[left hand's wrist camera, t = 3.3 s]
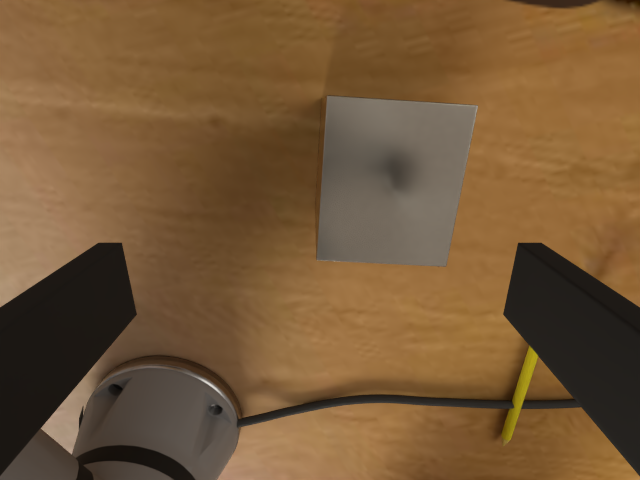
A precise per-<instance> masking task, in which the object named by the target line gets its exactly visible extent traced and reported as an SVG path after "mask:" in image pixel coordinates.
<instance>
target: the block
mask: <svg viewBox="0 0 640 480" xmlns="http://www.w3.org/2000/svg"><path fill="white" fill-rule="evenodd" d="M477 108H478V106H477V105H467V104H452V103H437V102H422V101H407V100H392V99H377V98H362V97H347V96H331V95H328V96H325V97H323V98H322V99H321V116H320V133H319V150H318V167H317V184H316V201H315V225H316V259H317V260H319V261H340V262H361V263H381V264H402V265H423V266H443V267H446V265H447V260H448V255H449V250H450V245H451V239H452V234H453V229H454V224H455V219H456V214H457V209H458V204H459V199H460V194H461V189H462V184H463V179H464V174H465V169H466V164H467V159H468V154H469V149H470V143H471V138H472V133H473V128H474V123H475V118H476V113H477Z"/></svg>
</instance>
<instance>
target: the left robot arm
mask: <svg viewBox="0 0 640 480" xmlns="http://www.w3.org/2000/svg"><path fill="white" fill-rule="evenodd" d="M136 315H137V313H136V309H135V304H134V299H133V294H132V290H131V285H130V280H129V275H128V270H127V266H126V261H125V256H124V251H123V246H122V243H98V244H96V245H95V246H93V247H92V248H90V249H88V250H87V251H85V252H84V253H82V254H81V255H79V256H78V257H76V258H75V259H73V260H72V261H70V262H69V263H67V264H66V265H64V266H63V267H61V268H60V269H58V270H57V271H55V272H54V273H52V274H50V275H49V276H47V277H46V278H44V279H43V280H41V281H40V282H38V283H37V284H35V285H34V286H32V287H31V288H29V289H28V290H26V291H25V292H23V293H22V294H20V295H19V296H17V297H15V298H14V299H12V300H11V301H9V302H8V303H6V304H5V305H3V306H2V307H0V480H217V479H218V477H219V476H220V474H221V472H222V471H223V469H224V468H225V466H226V464H227V463H228V461H229V460H230V458H231V456H232V454H233V453H234V451H235V449H236V446H237V443H238V438H239V434H240V429H241V427H243V426H248V425H252V424H257V423H261V422H265V421H269V420H273V419H277V418H281V417H285V416H289V415H294V414H299V413H304V412H308V411H313V410H318V409H323V408H329V407H335V406H342V405H351V404H363V403H399V404H413V405H428V406H451V407H471V408H497V409H513V408H514V404H513V402H512V401H508V400H474V399H454V398H431V397H416V396H402V395H358V396H347V397H339V398H333V399H327V400H321V401H316V402H311V403H307V404H302V405H297V406H292V407H287V408H283V409H279V410H275V411H271V412H267V413H263V414H258V415H254V416H249V417H245V418H242V414H241V408H240V405H239V402H238V400H237V398H236V396H235V394H234V393H233V391H232V390H231V388H230V387H229V386H228V385H227V384H226V383H225V382H224V381H223V380H222V379H221V378H220V377H219V376H217V375H216V374H215V373H213V372H212V371H210V370H209V369H207V368H205V367H203V366H201V365H199V364H196V363H194V362H191V361H188V360H184V359H180V358H175V357H167V356H151V357H143V358H139V359H134V360H131V361H129V362H126V363H124V364H122V365H120V366H118V367H117V368H115V369H114V370H112V371H111V372H110V373H109V374H108V375H107V376H106V377H105V378H104V379H103V380H102V382H101V383H100V384H99V386H98V387H97V388H96V389H95V391H94V392H93V394H92V395H91V397H90V398H89V401H88V403H87V406H86V409H85V412H84V415H83V408H82V411H81V414H80V417H79V432H78V436H77V439H76V443H75V446H74V449H73V453H72V455H71V454H70V453H69V452H68V451H67V450H65V449H64V448H63V447H62V446H61V445H59V444H58V443H57V442H56V441H55V440H54V439H52V438H51V437H50V436H49V435H48V434H46V433H45V432H44V431H43V430H42V429H41V427H42V426H43V425H44V424H45V422H46V421H47V420H48V419H49V418H50V417H51V415H52V414H53V413H54V412H55V411H56V409H57V408H58V407H59V406H60V405H61V404H62V402H63V401H64V400H65V399H66V398H67V396H68V395H69V394H70V393H71V392H72V390H73V389H74V388H75V387H76V386H77V385H78V383H79V382H80V381H81V380H82V379H83V377H84V376H85V375H86V374H87V373H88V372H89V370H90V369H91V368H92V367H93V366H94V364H95V363H96V362H97V361H98V360H99V359H100V357H101V356H102V355H103V354H104V353H105V351H106V350H107V349H108V348H109V347H110V345H111V344H112V343H113V342H114V341H115V340H116V338H117V337H118V336H119V335H120V334H121V332H122V331H123V330H124V329H125V328H126V327H127V325H128V324H129V323H130V322H131V321H132V319H133V318H134V317H135V316H136ZM503 315H504V316H505V317H506V318H507V319H508V321H509V322H510V323H511V324H512V325H513V327H514V328H515V329H516V330H517V331H518V332H519V334H520V335H521V336H522V337H523V338H524V340H525V341H526V342H527V343H528V344H529V345H530V347H531V348H532V349H533V350H534V351H535V353H536V354H537V355H538V356H539V357H540V359H541V360H542V361H543V362H544V363H545V364H546V366H547V367H548V368H549V369H550V370H551V372H552V373H553V374H554V375H555V376H556V377H557V379H558V380H559V381H560V382H561V383H562V385H563V386H564V387H565V388H566V389H567V390H568V392H569V393H570V394H571V395H572V396H573V398H574V399H569V400H538V401H523V404H522V407H521V409H551V408H575V407H582V408H583V409H584V411H585V412H586V413H587V414H588V415H589V417H590V418H591V419H592V420H593V421H594V422H595V424H596V425H597V426H598V427H599V428H600V430H601V431H602V432H603V433H604V434H605V436H606V437H607V438H608V439H609V440H610V441H611V443H612V444H613V445H614V446H615V447H616V449H617V450H618V451H619V452H620V453H621V454H622V456H623V457H624V458H625V459H626V460H627V462H628V463H629V464H630V465H631V466H632V467H633V469H634V470H635V471H636V472H637V473H638V475H639V476H640V307H638V306H637V305H635V304H634V303H632V302H631V301H629V300H628V299H626V298H625V297H623V296H621V295H620V294H618V293H617V292H615V291H614V290H612V289H611V288H609V287H608V286H606V285H605V284H603V283H602V282H600V281H599V280H597V279H596V278H594V277H593V276H591V275H590V274H588V273H586V272H585V271H583V270H582V269H580V268H579V267H577V266H576V265H574V264H573V263H571V262H570V261H568V260H567V259H565V258H564V257H562V256H561V255H559V254H558V253H556V252H555V251H553V250H552V249H550V248H548V247H547V246H545V245H544V244H542V243H518V246H517V251H516V256H515V261H514V266H513V270H512V275H511V280H510V285H509V290H508V294H507V299H506V304H505V309H504V313H503Z"/></svg>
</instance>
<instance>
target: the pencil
mask: <svg viewBox="0 0 640 480" xmlns="http://www.w3.org/2000/svg"><path fill="white" fill-rule="evenodd" d="M537 359H538V355H537V354H536V353H535V351H534V350H533V349H532V348H531V347H530V345H529V348H528V351H527V354H526V358H525V361H524V364H523V367H522V370H521V373H520V377H519V380H518V383H517V386H516V389H515V392H514V395H513V399H512V402H513V404H514V408H513V409H509V411H508V414H507V418H506V421H505V424H504V427H503V430H502V433H501V436H502V445H503V446H504V445H505V444H506V443H508V442H509V441H510V440H511V437H512V434H513V431H514V428H515V425H516V422H517V419H518V416H519V413H520V410H521V407H522V404H523V401H524V398H525V395H526V392H527V389H528V386H529V383H530V380H531V377H532V374H533V371H534V368H535V365H536V362H537Z"/></svg>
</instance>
